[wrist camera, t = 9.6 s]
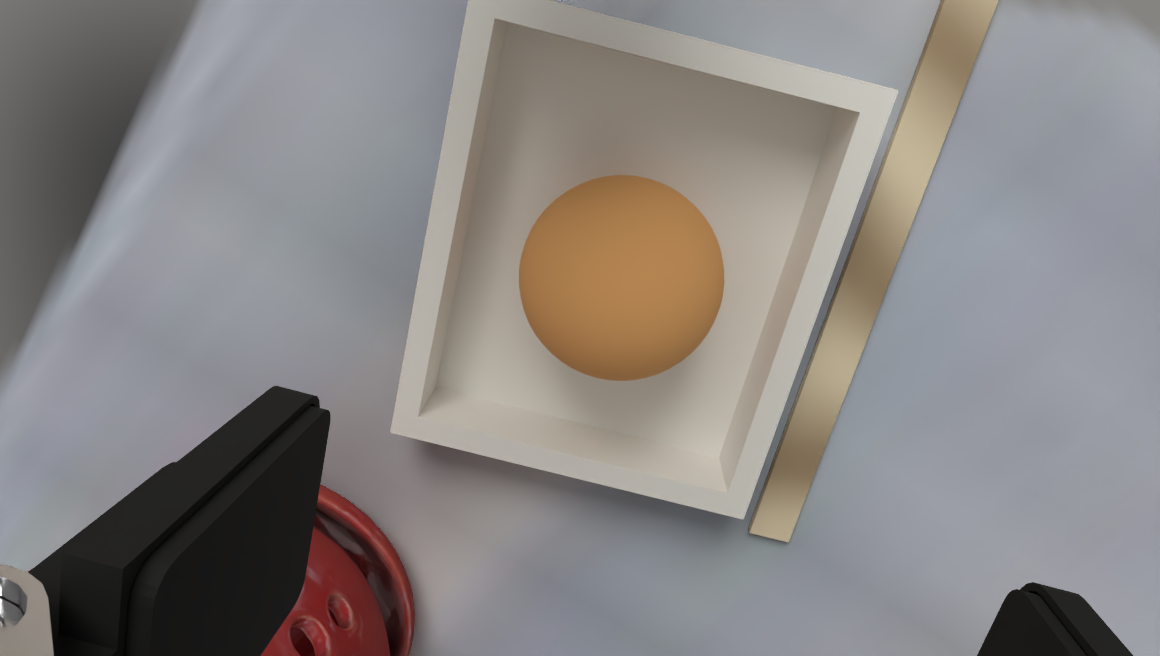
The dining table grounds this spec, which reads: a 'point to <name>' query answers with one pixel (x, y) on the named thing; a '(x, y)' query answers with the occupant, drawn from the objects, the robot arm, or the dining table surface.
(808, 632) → the dining table surface
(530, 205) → the tray
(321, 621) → the plant pot
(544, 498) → the dining table surface
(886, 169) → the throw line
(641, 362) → the ball
